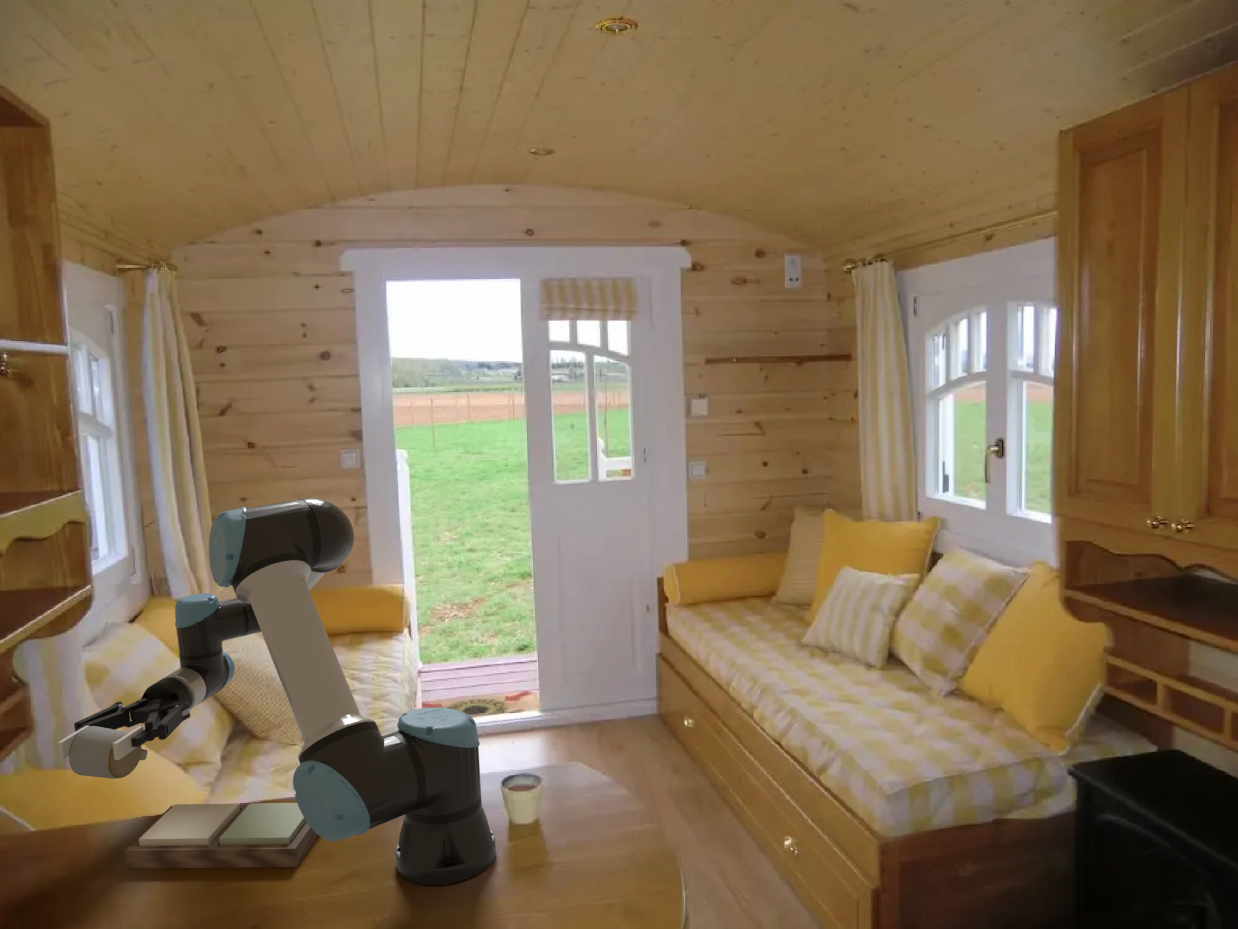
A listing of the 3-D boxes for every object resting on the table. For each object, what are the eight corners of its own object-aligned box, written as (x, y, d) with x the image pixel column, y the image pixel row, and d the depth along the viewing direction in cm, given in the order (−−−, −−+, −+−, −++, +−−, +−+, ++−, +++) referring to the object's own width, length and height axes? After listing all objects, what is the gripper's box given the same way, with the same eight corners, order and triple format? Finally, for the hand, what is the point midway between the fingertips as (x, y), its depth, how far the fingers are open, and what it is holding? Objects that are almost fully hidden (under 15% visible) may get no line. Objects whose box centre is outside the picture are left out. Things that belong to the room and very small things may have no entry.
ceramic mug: (113, 787, 147) (109, 740, 146) (69, 783, 148) (65, 737, 148) (161, 759, 157) (157, 714, 156) (120, 755, 159) (116, 712, 158)
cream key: (240, 819, 157) (239, 803, 156) (209, 855, 146) (207, 838, 146) (176, 820, 157) (174, 804, 157) (140, 856, 146) (138, 839, 146)
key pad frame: (328, 820, 158) (327, 803, 157) (296, 867, 144) (295, 848, 143) (173, 822, 159) (171, 805, 159) (126, 868, 145) (124, 850, 145)
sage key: (316, 818, 156) (314, 802, 156) (290, 854, 145) (288, 837, 145) (251, 819, 157) (249, 803, 156) (220, 855, 146) (219, 838, 145)
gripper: (231, 717, 168) (154, 775, 145) (120, 716, 170) (28, 772, 148) (227, 676, 167) (149, 729, 144) (116, 676, 169) (22, 727, 147)
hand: (88, 751), depth 146 cm, fingers closed on ceramic mug, 9 cm apart
